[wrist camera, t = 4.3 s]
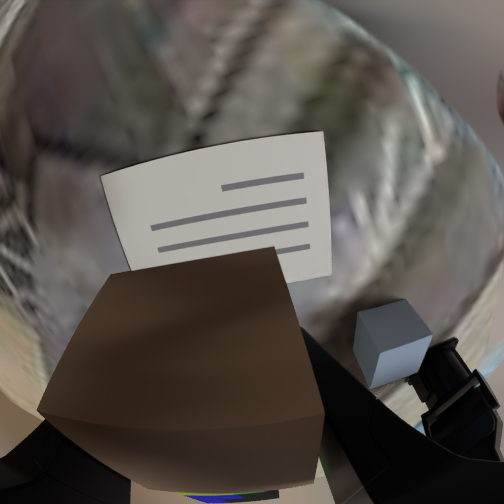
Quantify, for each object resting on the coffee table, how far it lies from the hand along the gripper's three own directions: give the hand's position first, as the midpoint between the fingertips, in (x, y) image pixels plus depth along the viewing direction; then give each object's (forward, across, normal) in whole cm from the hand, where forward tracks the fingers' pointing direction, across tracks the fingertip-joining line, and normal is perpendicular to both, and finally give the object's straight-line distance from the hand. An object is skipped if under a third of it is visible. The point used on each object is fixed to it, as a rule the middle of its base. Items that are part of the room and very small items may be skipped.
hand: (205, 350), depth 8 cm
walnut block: (+1, 0, 0) cm, 1 cm away
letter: (+10, 0, 0) cm, 11 cm away
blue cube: (+11, -12, +12) cm, 20 cm away
